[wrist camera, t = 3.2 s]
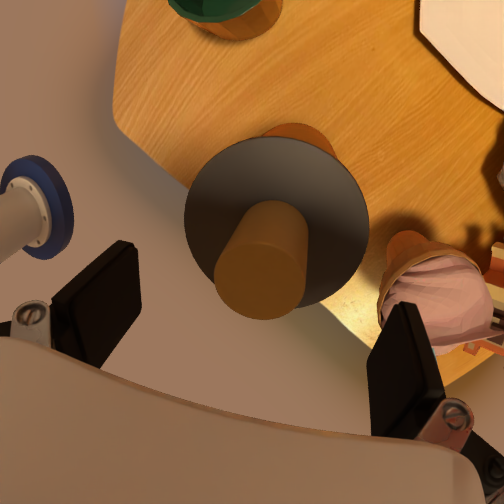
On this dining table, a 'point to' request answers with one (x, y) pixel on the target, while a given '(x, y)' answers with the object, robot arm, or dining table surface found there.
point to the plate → (469, 41)
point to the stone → (501, 177)
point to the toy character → (500, 288)
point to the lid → (276, 225)
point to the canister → (230, 16)
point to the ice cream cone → (437, 290)
